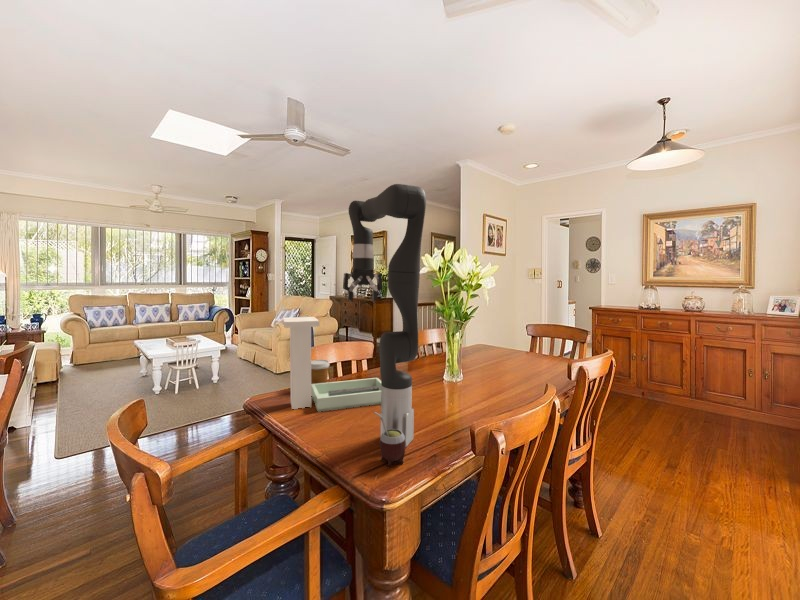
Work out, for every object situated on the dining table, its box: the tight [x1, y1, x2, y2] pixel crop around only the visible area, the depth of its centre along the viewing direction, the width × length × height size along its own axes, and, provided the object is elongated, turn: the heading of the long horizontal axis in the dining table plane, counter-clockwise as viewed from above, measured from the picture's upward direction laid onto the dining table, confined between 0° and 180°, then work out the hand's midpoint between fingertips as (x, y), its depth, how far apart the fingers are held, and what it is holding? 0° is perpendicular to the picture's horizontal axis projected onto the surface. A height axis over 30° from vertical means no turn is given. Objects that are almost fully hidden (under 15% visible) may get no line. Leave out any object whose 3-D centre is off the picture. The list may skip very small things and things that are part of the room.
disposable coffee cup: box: [311, 359, 331, 384], centre depth 153 cm, size 10×10×12 cm
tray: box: [311, 377, 381, 413], centre depth 141 cm, size 28×18×5 cm, turn 111°
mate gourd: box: [373, 411, 407, 469], centre depth 93 cm, size 8×8×15 cm
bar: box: [328, 386, 379, 396], centre depth 141 cm, size 20×3×3 cm, turn 111°
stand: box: [282, 316, 320, 410], centre depth 133 cm, size 12×13×33 cm
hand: (362, 301), depth 129 cm, fingers open, 8 cm apart
